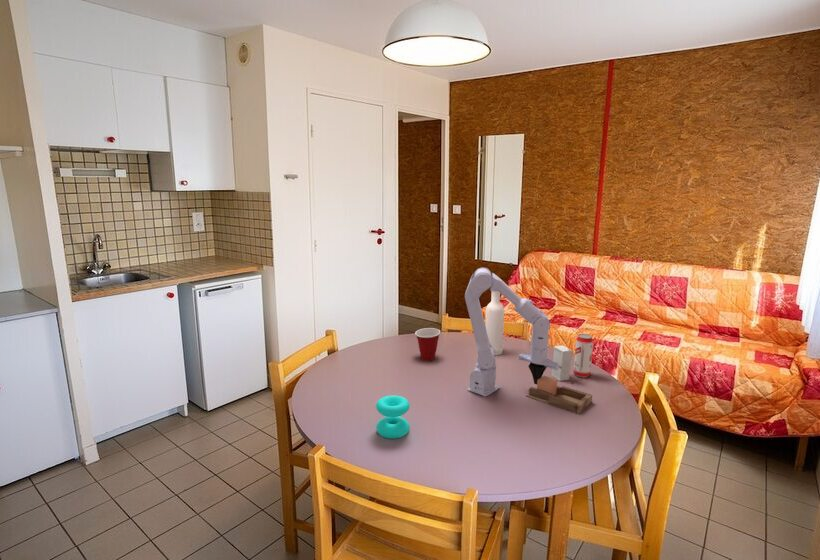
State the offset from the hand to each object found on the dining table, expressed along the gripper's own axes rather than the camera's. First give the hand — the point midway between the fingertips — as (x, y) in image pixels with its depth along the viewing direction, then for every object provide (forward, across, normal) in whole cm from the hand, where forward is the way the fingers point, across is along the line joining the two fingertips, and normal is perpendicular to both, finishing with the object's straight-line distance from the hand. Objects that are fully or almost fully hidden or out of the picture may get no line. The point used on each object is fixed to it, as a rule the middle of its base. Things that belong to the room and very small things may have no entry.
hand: (536, 383), depth 169 cm
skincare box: (+4, -1, -18) cm, 18 cm away
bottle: (+4, +33, -24) cm, 41 cm away
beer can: (+4, -6, -26) cm, 27 cm away
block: (+3, -4, 0) cm, 5 cm away
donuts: (+4, +19, +54) cm, 57 cm away
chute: (+3, -8, 0) cm, 9 cm away
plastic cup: (+4, +50, +1) cm, 50 cm away
